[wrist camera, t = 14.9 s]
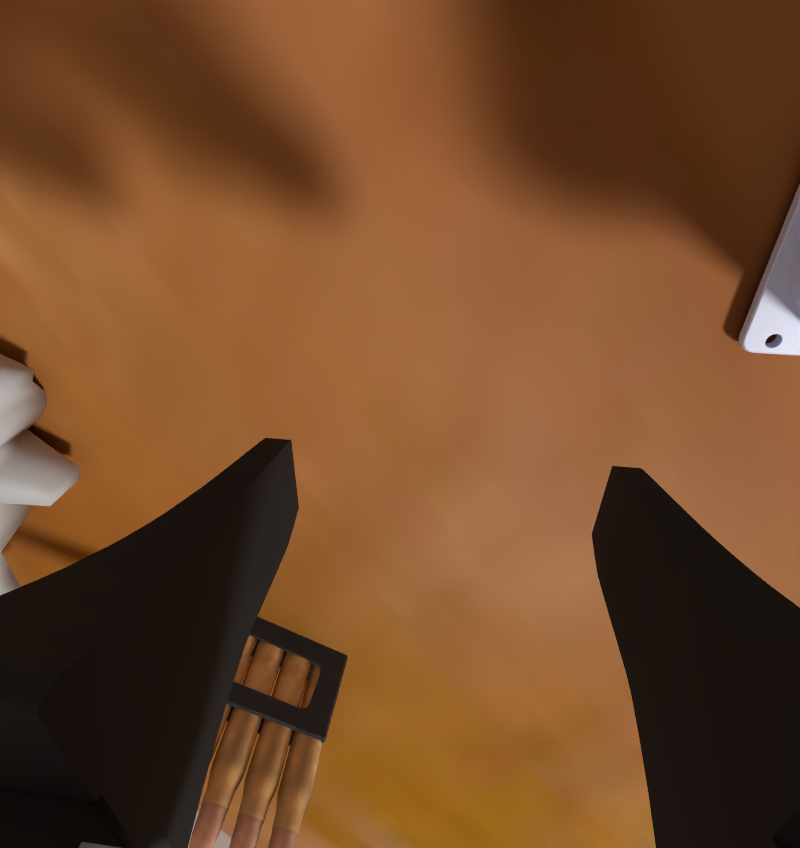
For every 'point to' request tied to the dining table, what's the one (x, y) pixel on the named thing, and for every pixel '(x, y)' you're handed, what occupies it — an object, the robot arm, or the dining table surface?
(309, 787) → the ammunition clip
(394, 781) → the dining table surface
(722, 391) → the dining table surface
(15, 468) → the bunny figurine
